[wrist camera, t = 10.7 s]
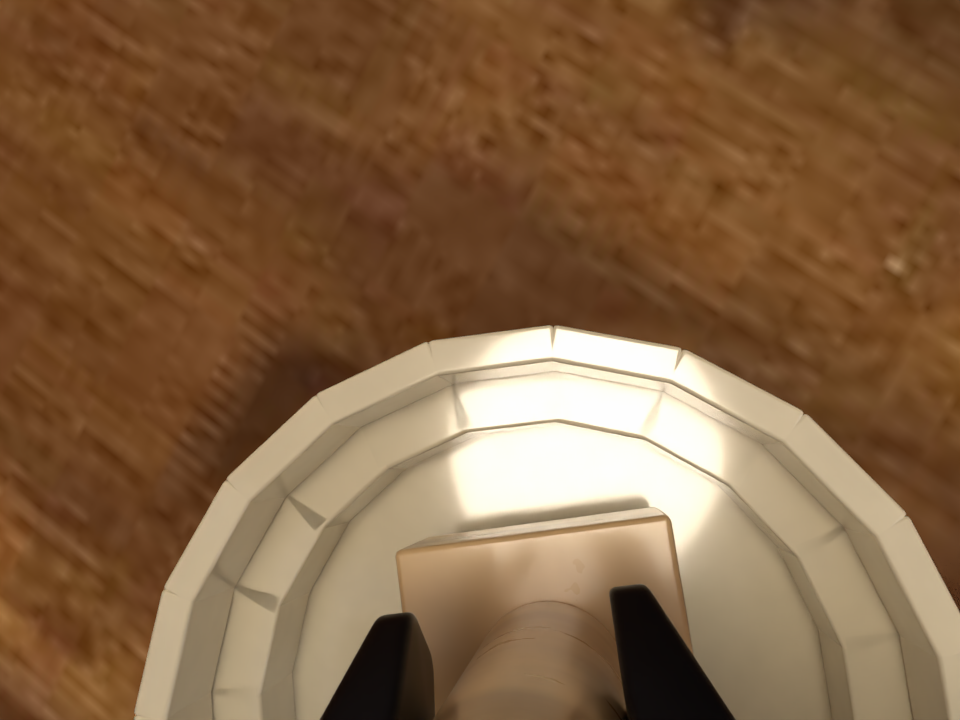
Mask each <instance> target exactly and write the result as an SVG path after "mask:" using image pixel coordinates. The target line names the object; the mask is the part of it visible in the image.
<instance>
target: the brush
mask: <svg viewBox="0 0 960 720" xmlns="http://www.w3.org/2000/svg"><path fill="white" fill-rule="evenodd" d="M395 558H396V566H397V574H398V582H399V590H400V599H401V607H402V613H404V612H411V613H413V614H414V615H415V616H416V618H417V620H418V622H419V625H420V627H421V630H422V632H423V635H424V637H425V640H426V643H427V645H428V648H429V650H430V653H431V657H432V662H433V670H434V696H435V717H434V719H433V720H628V717H627V711H626V705H625V699H624V693H623V687H622V681H621V674H620V667H619V660H618V653H617V646H616V639H615V632H614V625H613V618H612V611H611V604H610V597H609V592H610V590H611V589H612V588H613V587H618V586H626V585H634V584H643V585H646V586H647V587H648V588H649V589H650V590H651V592H652V593H653V595H654V596H655V598H656V599H657V601H658V602H659V604H660V605H661V607H662V609H663V610H664V612H665V613H666V615H667V616H668V618H669V619H670V621H671V622H672V624H673V625H674V627H675V628H676V630H677V631H678V633H679V634H680V636H681V637H682V639H683V640H684V642H685V643H686V645H687V646H688V648H689V649H690V651H691V653H692V654H693V656H694V653H693V647H692V641H691V636H690V630H689V624H688V618H687V612H686V606H685V600H684V594H683V588H682V582H681V576H680V570H679V564H678V558H677V552H676V546H675V540H674V534H673V528H672V522H671V519H670V518H669V516H668V515H666V514H665V513H664V512H662V511H661V510H660V509H658V508H656V507H650V508H642V509H635V510H627V511H620V512H612V513H605V514H597V515H590V516H582V517H575V518H567V519H560V520H552V521H545V522H537V523H530V524H522V525H515V526H507V527H500V528H492V529H485V530H477V531H470V532H462V533H455V534H447V535H440V536H432V537H428V538H425V539H423V540H421V541H419V542H416V543H414V544H412V545H410V546H407V547H405V548H403V549H401V550H399V551H397V552H396V556H395Z"/></svg>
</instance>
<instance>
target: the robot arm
mask: <svg viewBox="0 0 960 720" xmlns="http://www.w3.org/2000/svg"><path fill="white" fill-rule="evenodd" d="M609 597H610V604H611V611H612V618H613V625H614V632H615V639H616V646H617V653H618V660H619V667H620V674H621V681H622V687H623V693H624V699H625V705H626V711H627V717H628V720H736V719H735V718H734V716H733V715H732V713H731V712H730V710H729V709H728V707H727V706H726V704H725V703H724V701H723V700H722V698H721V697H720V695H719V694H718V692H717V690H716V689H715V687H714V686H713V684H712V683H711V681H710V680H709V678H708V677H707V675H706V674H705V672H704V671H703V669H702V668H701V666H700V665H699V663H698V662H697V660H696V659H695V657H694V656H693V654H692V653H691V651H690V649H689V648H688V646H687V645H686V643H685V642H684V640H683V639H682V637H681V636H680V634H679V633H678V631H677V630H676V628H675V627H674V625H673V624H672V622H671V621H670V619H669V618H668V616H667V615H666V613H665V612H664V610H663V609H662V607H661V605H660V604H659V602H658V601H657V599H656V598H655V596H654V595H653V593H652V592H651V590H650V589H649V588H648V587H647V586H646V585H643V584H634V585H626V586H618V587H613V588H612V589H611V590H610V592H609ZM434 717H435V696H434V670H433V662H432V657H431V653H430V650H429V648H428V645H427V643H426V640H425V637H424V635H423V632H422V630H421V627H420V625H419V622H418V620H417V618H416V616H415V615H414V614H413V613H411V612H404V613H396V614H387V615H382V616H380V617H379V618H377V619H376V620H375V622H374V623H373V625H372V627H371V629H370V630H369V632H368V634H367V636H366V638H365V639H364V641H363V643H362V645H361V646H360V648H359V650H358V652H357V654H356V655H355V657H354V659H353V661H352V663H351V664H350V666H349V668H348V670H347V672H346V673H345V675H344V677H343V679H342V681H341V682H340V684H339V686H338V688H337V689H336V691H335V693H334V695H333V697H332V698H331V700H330V702H329V704H328V706H327V707H326V709H325V711H324V713H323V715H322V716H321V718H320V720H433V719H434Z"/></svg>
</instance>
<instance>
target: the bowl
mask: <svg viewBox="0 0 960 720" xmlns="http://www.w3.org/2000/svg"><path fill="white" fill-rule="evenodd" d="M650 507H656V508H658V509H660V510H661V511H662V512H664V513H665V514H666V515H668V516H669V518H670V519H671V522H672V528H673V534H674V540H675V546H676V552H677V558H678V564H679V570H680V576H681V582H682V588H683V594H684V600H685V606H686V612H687V618H688V624H689V630H690V636H691V641H692V647H693V653H694V657H695V659H696V660H697V662H698V663H699V665H700V666H701V668H702V669H703V671H704V672H705V674H706V675H707V677H708V678H709V680H710V681H711V683H712V684H713V686H714V687H715V689H716V690H717V692H718V694H719V695H720V697H721V698H722V700H723V701H724V703H725V704H726V706H727V707H728V709H729V710H730V712H731V713H732V715H733V716H734V718H735V719H736V720H960V611H959V609H958V607H957V605H956V604H955V602H954V600H953V598H952V596H951V594H950V592H949V590H948V589H947V587H946V585H945V583H944V581H943V579H942V577H941V575H940V573H939V572H938V570H937V568H936V566H935V564H934V562H933V560H932V558H931V556H930V555H929V553H928V551H927V549H926V547H925V545H924V543H923V541H922V539H921V538H920V536H919V534H918V532H917V530H916V528H915V526H914V524H913V522H912V521H911V519H910V518H909V517H908V516H905V515H906V513H905V511H904V510H903V509H902V508H901V507H900V506H899V505H898V504H897V503H896V502H895V501H894V500H893V499H892V498H891V497H890V496H889V495H888V494H887V493H886V492H885V491H884V490H883V489H882V488H881V487H880V486H879V485H878V484H877V483H876V482H875V481H874V480H873V479H872V478H871V477H870V476H869V475H868V474H867V473H866V472H865V471H864V470H863V469H862V468H861V467H860V466H859V465H858V464H857V463H856V462H855V461H854V460H853V459H852V458H851V457H850V456H849V455H848V454H847V453H846V452H845V451H844V450H843V449H842V448H841V447H840V446H839V445H838V444H837V443H836V442H835V441H834V440H833V439H832V438H831V437H830V436H829V435H828V434H827V433H826V432H825V431H824V430H823V429H822V428H821V427H820V426H819V425H818V424H817V423H816V422H815V421H814V420H813V419H812V418H811V417H810V416H809V415H807V414H803V411H802V410H801V409H799V408H797V407H795V406H793V405H791V404H789V403H788V402H786V401H784V400H782V399H780V398H778V397H776V396H774V395H772V394H770V393H769V392H767V391H765V390H763V389H761V388H759V387H757V386H755V385H753V384H751V383H749V382H748V381H746V380H744V379H742V378H740V377H738V376H736V375H734V374H732V373H730V372H729V371H727V370H725V369H723V368H721V367H719V366H717V365H715V364H713V363H711V362H709V361H708V360H706V359H704V358H702V357H700V356H698V355H696V354H694V353H692V352H690V351H689V350H682V349H681V348H679V347H677V346H671V345H666V344H660V343H655V342H649V341H644V340H638V339H633V338H627V337H621V336H616V335H610V334H605V333H599V332H594V331H588V330H583V329H577V328H572V327H566V326H561V325H556V326H554V327H553V326H551V325H544V326H536V327H529V328H521V329H514V330H506V331H499V332H491V333H483V334H476V335H468V336H461V337H453V338H446V339H438V340H432V341H430V342H429V343H428V342H424V343H422V344H420V345H418V346H416V347H413V348H411V349H409V350H407V351H405V352H403V353H401V354H399V355H397V356H395V357H392V358H390V359H388V360H386V361H384V362H382V363H380V364H378V365H376V366H374V367H371V368H369V369H367V370H365V371H363V372H361V373H359V374H357V375H355V376H352V377H350V378H348V379H346V380H344V381H342V382H340V383H338V384H336V385H334V386H331V387H329V388H327V389H325V390H323V391H321V392H319V393H318V394H317V396H313V397H312V398H311V399H310V400H309V401H308V402H307V403H306V404H305V405H304V406H302V407H301V408H300V409H299V410H298V411H297V412H296V413H295V414H294V415H293V416H292V417H291V418H290V419H289V420H287V421H286V422H285V423H284V424H283V425H282V426H281V427H280V428H279V429H278V430H277V431H276V432H275V433H274V434H273V435H271V436H270V437H269V438H268V439H267V440H266V441H265V442H264V443H263V444H262V445H261V446H260V447H259V448H258V449H257V450H255V451H254V452H253V453H252V454H251V455H250V456H249V457H248V458H247V459H246V460H245V461H244V462H243V463H242V464H240V465H239V466H238V467H237V468H236V469H235V470H234V471H233V472H232V473H231V474H230V475H229V476H228V477H227V480H226V481H225V482H223V484H222V486H221V487H220V489H219V491H218V493H217V495H216V496H215V498H214V500H213V502H212V503H211V505H210V507H209V509H208V510H207V512H206V514H205V516H204V517H203V519H202V521H201V523H200V524H199V526H198V528H197V530H196V531H195V533H194V535H193V537H192V538H191V540H190V542H189V544H188V545H187V547H186V549H185V551H184V552H183V554H182V556H181V558H180V559H179V561H178V563H177V565H176V566H175V568H174V570H173V572H172V573H171V575H170V577H169V579H168V580H167V582H166V584H165V587H164V588H165V590H163V592H162V594H161V599H160V603H159V607H158V612H157V616H156V620H155V625H154V629H153V633H152V638H151V642H150V646H149V651H148V655H147V659H146V663H145V668H144V672H143V676H142V681H141V685H140V689H139V694H138V698H137V702H136V707H135V711H134V712H135V714H136V716H135V717H134V720H320V718H321V716H322V715H323V713H324V711H325V709H326V707H327V706H328V704H329V702H330V700H331V698H332V697H333V695H334V693H335V691H336V689H337V688H338V686H339V684H340V682H341V681H342V679H343V677H344V675H345V673H346V672H347V670H348V668H349V666H350V664H351V663H352V661H353V659H354V657H355V655H356V654H357V652H358V650H359V648H360V646H361V645H362V643H363V641H364V639H365V638H366V636H367V634H368V632H369V630H370V629H371V627H372V625H373V623H374V622H375V620H376V619H377V618H379V617H380V616H382V615H387V614H396V613H402V607H401V599H400V590H399V582H398V574H397V566H396V558H395V556H396V552H397V551H399V550H401V549H403V548H405V547H407V546H410V545H412V544H414V543H416V542H419V541H421V540H423V539H425V538H428V537H432V536H440V535H447V534H455V533H462V532H470V531H477V530H485V529H492V528H500V527H507V526H515V525H522V524H530V523H537V522H545V521H552V520H560V519H567V518H575V517H582V516H590V515H597V514H605V513H612V512H620V511H627V510H635V509H642V508H650Z"/></svg>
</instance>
